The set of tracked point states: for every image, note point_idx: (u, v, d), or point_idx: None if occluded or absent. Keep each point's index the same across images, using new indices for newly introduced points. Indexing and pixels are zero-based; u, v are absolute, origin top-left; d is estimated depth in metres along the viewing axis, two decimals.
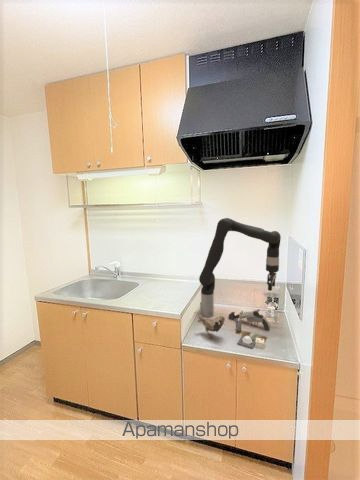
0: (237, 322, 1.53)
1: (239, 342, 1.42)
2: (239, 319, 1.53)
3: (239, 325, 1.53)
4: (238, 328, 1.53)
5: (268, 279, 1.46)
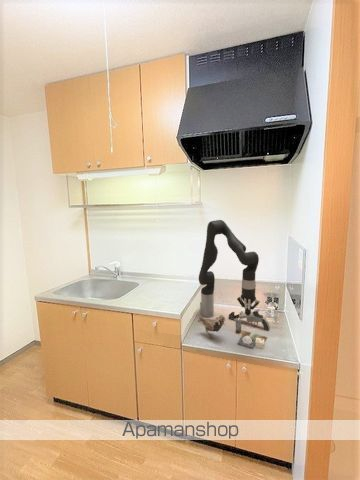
0: (237, 322, 1.53)
1: (239, 342, 1.42)
2: (239, 319, 1.53)
3: (239, 325, 1.53)
4: (238, 328, 1.53)
5: (256, 305, 1.36)
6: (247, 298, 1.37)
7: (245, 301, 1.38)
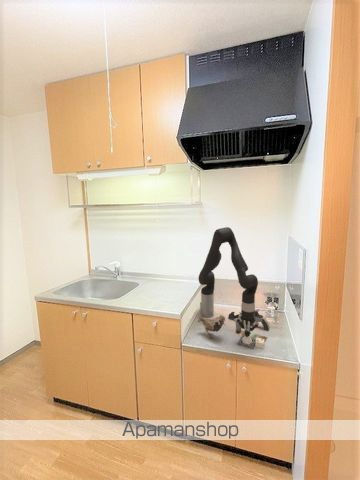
0: (237, 322, 1.53)
1: (239, 342, 1.42)
2: None
3: (239, 325, 1.53)
4: (238, 328, 1.53)
5: (255, 327, 1.38)
6: (246, 320, 1.40)
7: (245, 323, 1.40)
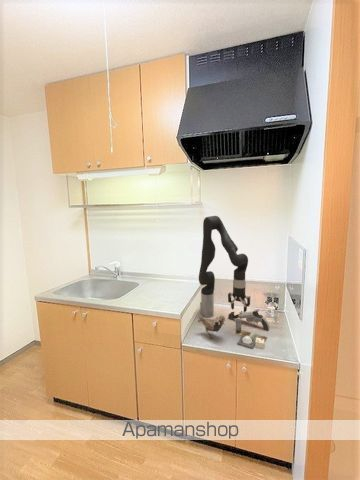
0: (237, 322, 1.53)
1: (239, 342, 1.42)
2: (239, 319, 1.53)
3: (239, 325, 1.52)
4: (238, 328, 1.53)
5: (249, 301, 1.47)
6: (238, 296, 1.50)
7: (235, 298, 1.51)
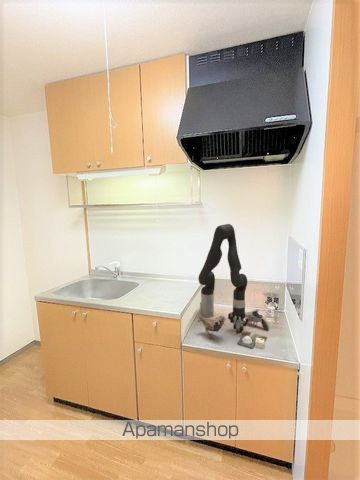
0: (237, 322, 1.53)
1: (239, 342, 1.42)
2: None
3: (239, 325, 1.52)
4: (238, 328, 1.53)
5: (247, 322, 1.50)
6: (237, 315, 1.52)
7: (235, 318, 1.53)
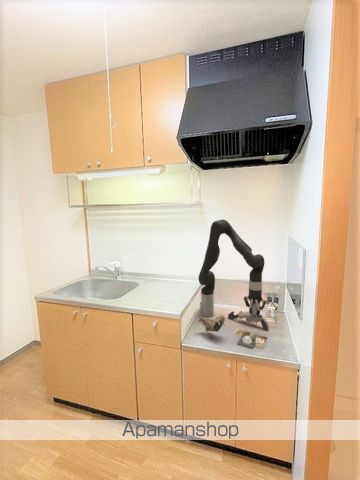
0: (253, 306, 1.45)
1: (239, 342, 1.42)
2: None
3: (255, 309, 1.45)
4: (254, 312, 1.45)
5: (264, 305, 1.43)
6: (254, 299, 1.45)
7: (251, 301, 1.45)
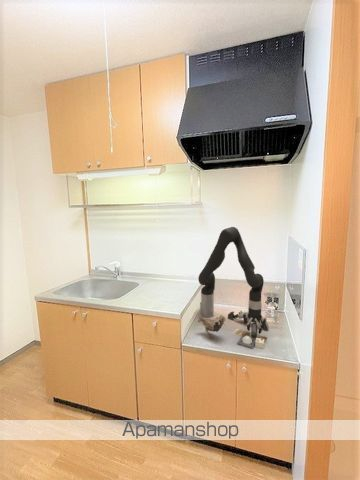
0: (253, 326, 1.47)
1: (239, 342, 1.42)
2: (255, 323, 1.48)
3: (255, 329, 1.47)
4: (254, 332, 1.48)
5: (265, 323, 1.44)
6: (253, 317, 1.47)
7: (250, 319, 1.47)
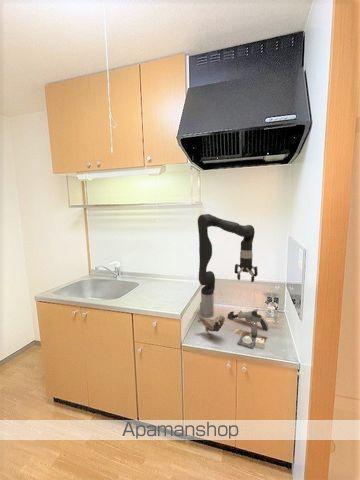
0: (253, 326, 1.48)
1: (239, 342, 1.42)
2: (255, 323, 1.48)
3: (255, 329, 1.47)
4: (254, 332, 1.48)
5: (256, 271, 1.50)
6: (245, 267, 1.53)
7: (241, 269, 1.54)
